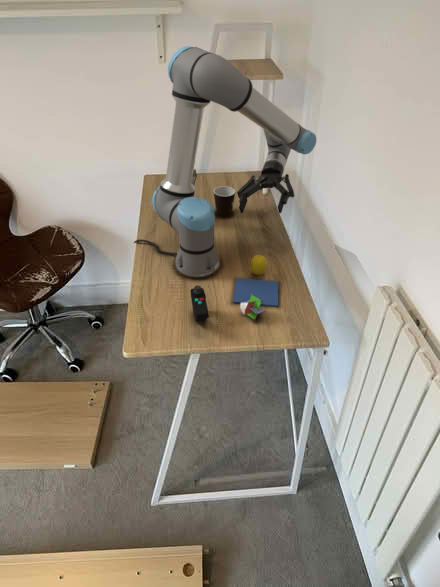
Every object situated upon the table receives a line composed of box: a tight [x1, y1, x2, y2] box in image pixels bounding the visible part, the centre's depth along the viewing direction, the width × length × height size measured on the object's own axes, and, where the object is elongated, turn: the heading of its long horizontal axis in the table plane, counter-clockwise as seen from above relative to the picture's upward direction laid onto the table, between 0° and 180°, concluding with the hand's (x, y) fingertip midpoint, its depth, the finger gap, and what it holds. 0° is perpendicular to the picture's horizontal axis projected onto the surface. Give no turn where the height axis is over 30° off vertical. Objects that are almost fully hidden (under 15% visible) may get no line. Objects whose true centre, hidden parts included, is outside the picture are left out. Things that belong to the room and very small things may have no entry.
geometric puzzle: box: [239, 294, 266, 321], centre depth 130 cm, size 7×7×8 cm
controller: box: [190, 285, 210, 324], centre depth 127 cm, size 4×12×10 cm, turn 10°
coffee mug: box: [213, 185, 236, 218], centre depth 176 cm, size 12×9×10 cm
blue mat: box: [232, 277, 279, 308], centre depth 140 cm, size 14×12×1 cm
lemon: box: [249, 254, 268, 276], centre depth 145 cm, size 6×6×8 cm
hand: (259, 210), depth 146 cm, fingers open, 13 cm apart
